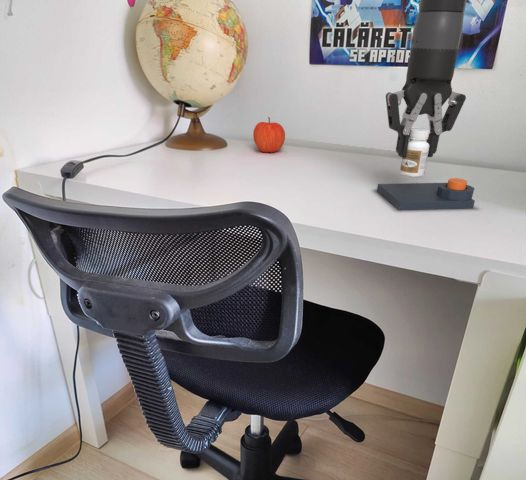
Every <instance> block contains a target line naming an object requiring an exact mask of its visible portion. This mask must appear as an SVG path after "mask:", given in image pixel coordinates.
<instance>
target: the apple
mask: <svg viewBox="0 0 526 480" xmlns="http://www.w3.org/2000/svg"><path fill="white" fill-rule="evenodd" d="M267 119H268V122H267V121H260V122H258V123H256V124H255V126H254V129H253V137H252V138H253V141H254V144H255V146H256V148H257V149H258V150H259V151H260V152H262V153H275V152H279V151H280V150H281V149H282V147H284V143H285V140H286V132H285V128H284V126H282V125H281V124H280V123H278V122H271V118H270V117H267Z"/></svg>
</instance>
